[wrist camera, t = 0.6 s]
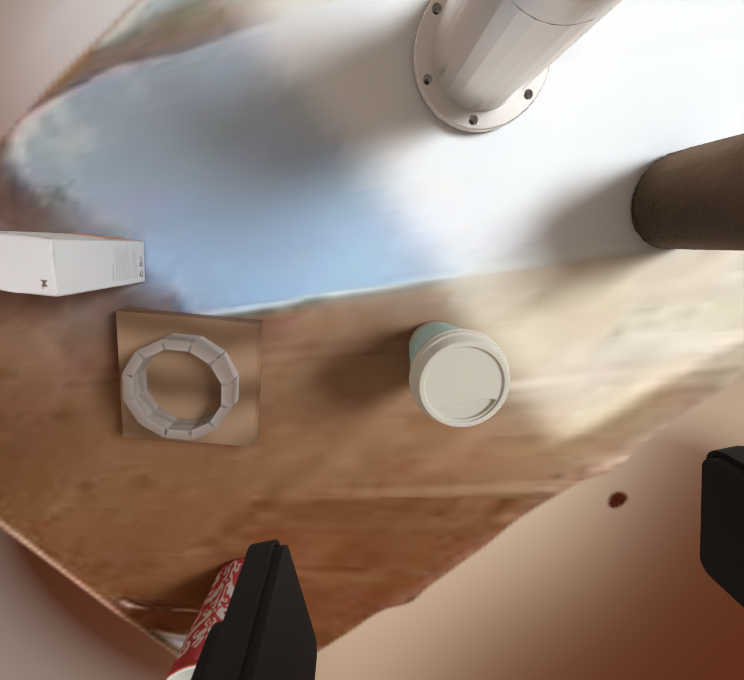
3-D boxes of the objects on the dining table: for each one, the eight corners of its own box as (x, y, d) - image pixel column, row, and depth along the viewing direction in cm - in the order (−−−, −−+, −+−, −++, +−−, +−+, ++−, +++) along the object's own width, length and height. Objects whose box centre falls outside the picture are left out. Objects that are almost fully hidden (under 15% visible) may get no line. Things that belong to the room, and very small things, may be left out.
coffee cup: (384, 365, 43) (395, 412, 31) (416, 296, 41) (440, 317, 29) (451, 392, 44) (486, 447, 32) (485, 326, 42) (535, 358, 30)
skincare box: (145, 239, 38) (53, 239, 26) (146, 282, 39) (58, 299, 28) (82, 232, 38) (-39, 227, 26) (85, 275, 39) (-31, 289, 27)
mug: (241, 538, 47) (198, 651, 34) (295, 578, 49) (273, 699, 36) (177, 597, 49) (113, 725, 36) (231, 633, 51) (189, 767, 38)
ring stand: (127, 307, 40) (99, 315, 35) (262, 320, 41) (251, 330, 36) (133, 428, 43) (108, 449, 39) (257, 437, 44) (247, 459, 40)
